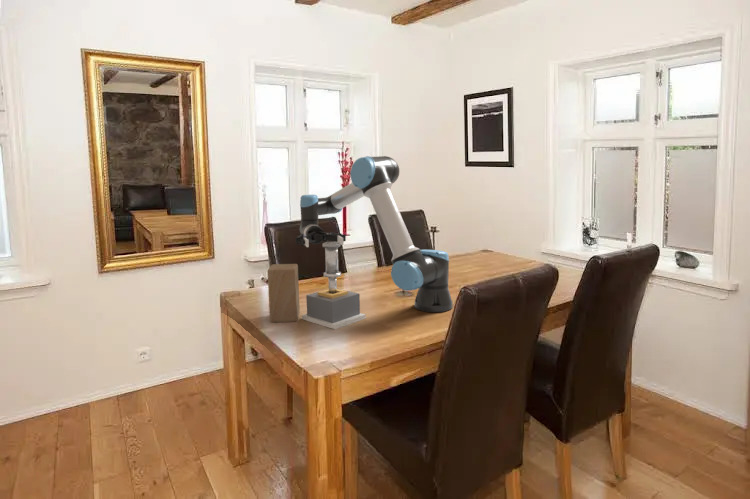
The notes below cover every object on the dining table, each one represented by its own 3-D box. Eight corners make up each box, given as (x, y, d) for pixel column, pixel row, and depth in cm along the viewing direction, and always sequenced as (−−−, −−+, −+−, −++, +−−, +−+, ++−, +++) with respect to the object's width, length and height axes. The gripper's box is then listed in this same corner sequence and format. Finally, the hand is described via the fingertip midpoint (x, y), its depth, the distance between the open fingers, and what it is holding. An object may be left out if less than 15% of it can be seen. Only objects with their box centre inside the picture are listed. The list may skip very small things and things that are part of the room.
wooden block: (300, 313, 206) (297, 263, 202) (297, 321, 196) (294, 269, 193) (274, 314, 206) (271, 264, 202) (270, 322, 196) (267, 269, 192)
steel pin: (345, 296, 198) (343, 242, 194) (332, 300, 193) (330, 245, 189) (333, 293, 202) (331, 241, 198) (320, 297, 197) (318, 243, 194)
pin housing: (365, 318, 199) (365, 291, 197) (334, 329, 187) (333, 300, 185) (332, 309, 211) (331, 283, 209) (301, 319, 199) (300, 292, 197)
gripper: (343, 241, 228) (356, 250, 208) (284, 244, 220) (293, 254, 200) (342, 223, 226) (356, 231, 206) (284, 226, 219) (292, 234, 199)
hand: (325, 242), depth 203 cm, fingers open, 13 cm apart
